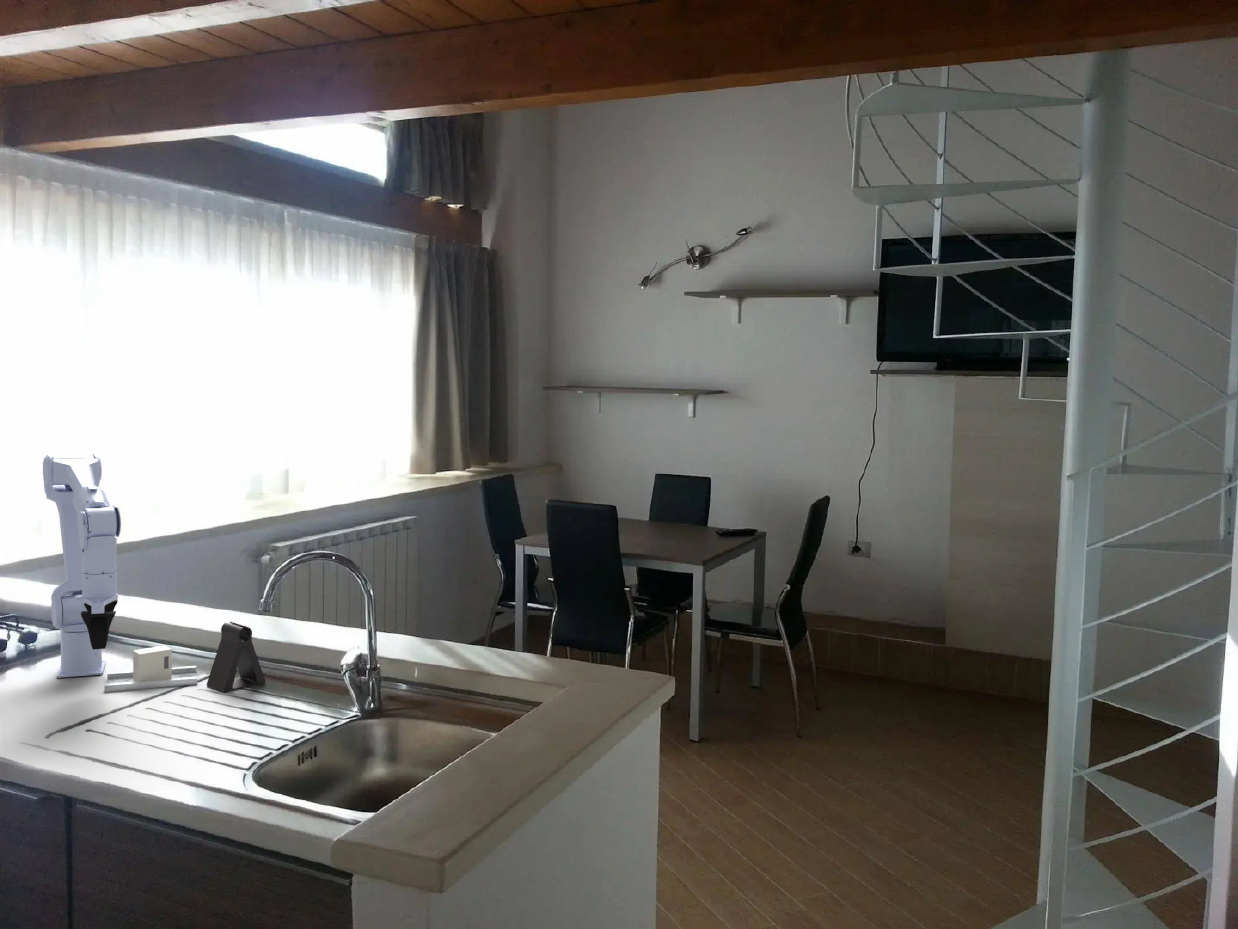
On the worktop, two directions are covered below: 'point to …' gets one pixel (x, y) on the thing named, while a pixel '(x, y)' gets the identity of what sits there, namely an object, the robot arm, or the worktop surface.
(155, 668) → the door panel
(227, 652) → the dark grey hinged stand
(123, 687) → the rail
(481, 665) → the worktop surface
